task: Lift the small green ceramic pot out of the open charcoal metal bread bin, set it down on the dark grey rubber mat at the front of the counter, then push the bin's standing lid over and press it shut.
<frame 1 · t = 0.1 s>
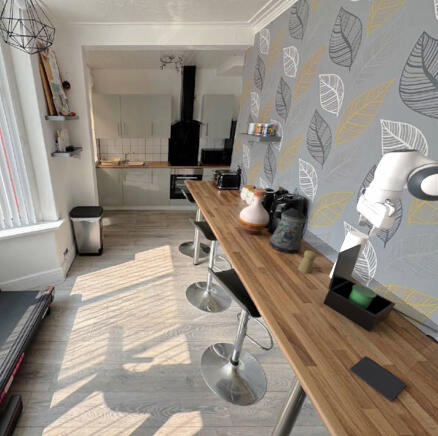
hand: (366, 230, 89), 33 cm above the table, tool pointing down, fingers open, 8 cm apart
bin lid: (345, 266, 96), point 16 cm above the table, hinge at 95.0°
bread bin: (353, 311, 95), on the table
mat: (376, 377, 71), on the table
white vase: (250, 231, 160), on the table
beer stein: (283, 245, 143), on the table
cylindrical container: (337, 280, 114), on the table
pot: (354, 309, 95), point 1 cm above the table, touching bread bin
cork: (304, 270, 121), on the table
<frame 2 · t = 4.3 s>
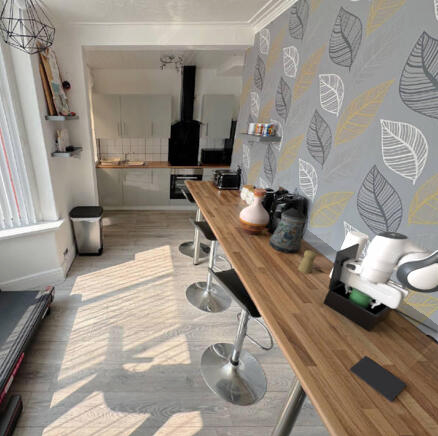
hand: (359, 300, 93), 6 cm above the table, tool pointing down, fingers closed on pot, 6 cm apart
bin lid: (344, 266, 96), point 16 cm above the table, hinge at 97.5°, touching arm
pot: (354, 309, 95), point 1 cm above the table, touching bread bin, gripper
everything else where it was.
when the fingers open (5 cm above the table, at t = 13.6 s): pot stays where it is, resting on mat.
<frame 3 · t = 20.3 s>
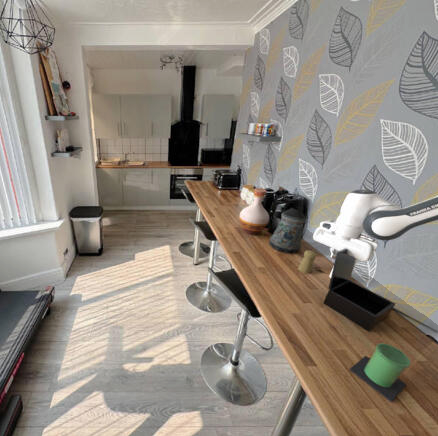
hand: (335, 258, 98), 18 cm above the table, tool pointing down, fingers closed
bin lid: (344, 266, 96), point 16 cm above the table, hinge at 97.2°, touching gripper
pot: (377, 376, 71), resting on mat
everything else where it was.
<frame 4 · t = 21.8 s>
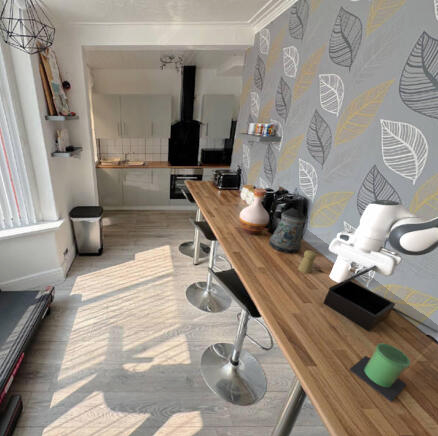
hand: (353, 271, 94), 16 cm above the table, tool pointing down, fingers closed
bin lid: (357, 275, 92), point 15 cm above the table, hinge at 61.2°, touching gripper
everything else where it was.
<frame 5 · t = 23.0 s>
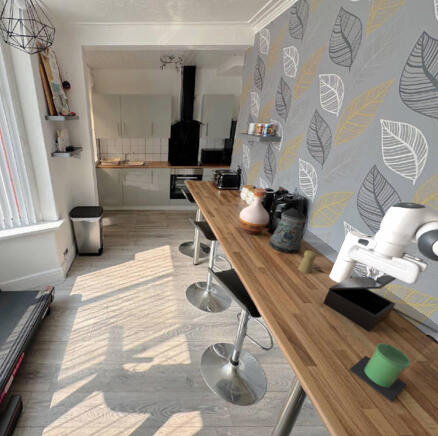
hand: (372, 278, 88), 17 cm above the table, tool pointing down, fingers closed
bin lid: (362, 282, 91), point 14 cm above the table, hinge at 39.8°, touching gripper
everything else where it was.
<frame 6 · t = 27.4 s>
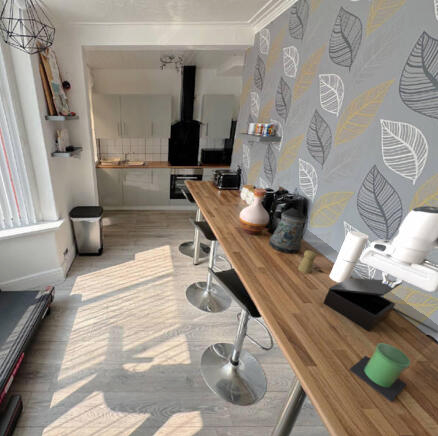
hand: (388, 285, 84), 17 cm above the table, tool pointing down, fingers closed
bin lid: (363, 285, 91), point 13 cm above the table, hinge at 31.1°, touching gripper
everything else where it was.
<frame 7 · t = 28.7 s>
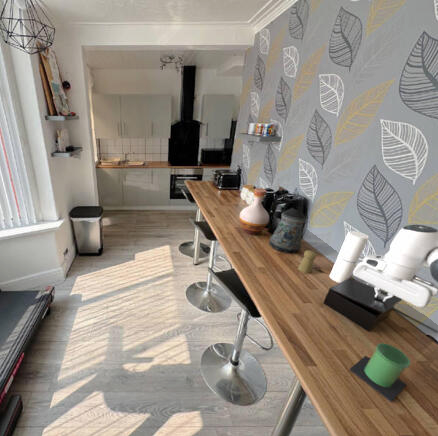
hand: (380, 299, 87), 11 cm above the table, tool pointing down, fingers closed
bin lid: (364, 293, 91), point 9 cm above the table, hinge at 7.9°, touching gripper
everything else where it was.
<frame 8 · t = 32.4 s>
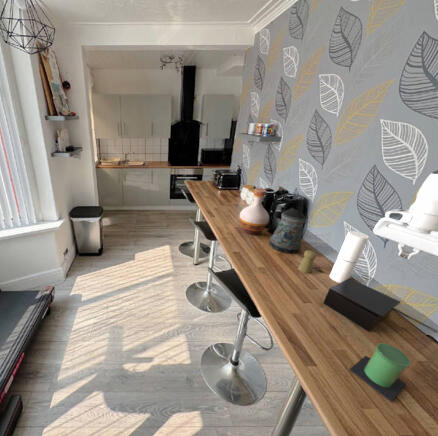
hand: (404, 257, 80), 29 cm above the table, tool pointing down, fingers closed
bin lid: (363, 295, 92), point 9 cm above the table, hinge at 2.6°
everything else where it was.
at the end: pot inside the target area on the mat (0.1 cm from its centre), point 0.5 cm above the mat's base; pot tilted 0°; bin lid at +3° (first picture: +95°) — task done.
